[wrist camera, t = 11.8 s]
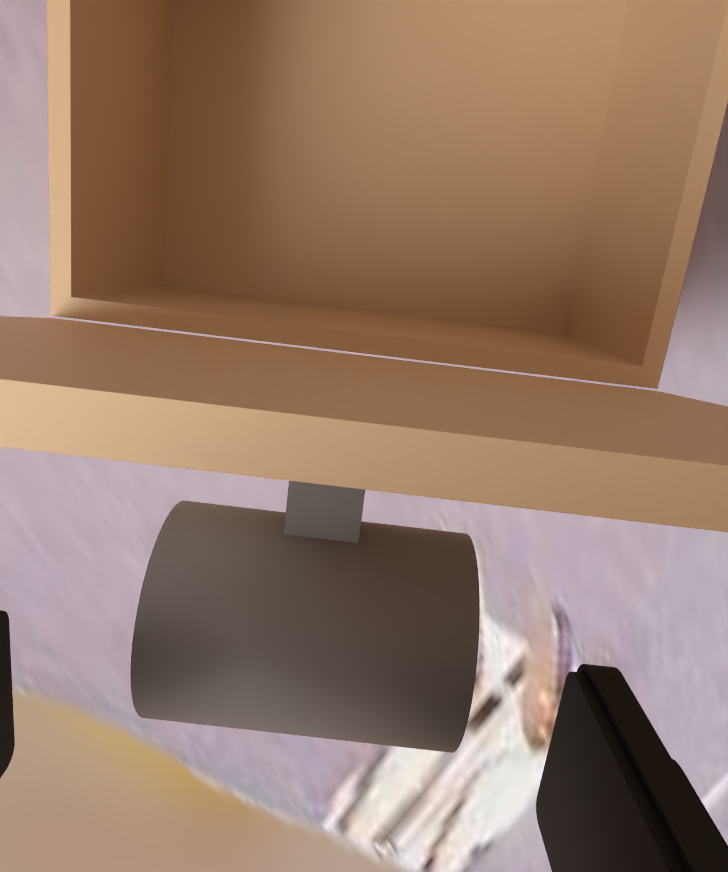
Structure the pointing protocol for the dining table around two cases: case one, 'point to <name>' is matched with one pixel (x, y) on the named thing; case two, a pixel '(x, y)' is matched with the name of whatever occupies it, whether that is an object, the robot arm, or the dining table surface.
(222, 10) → the carton
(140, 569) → the dining table surface
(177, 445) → the carton lid
